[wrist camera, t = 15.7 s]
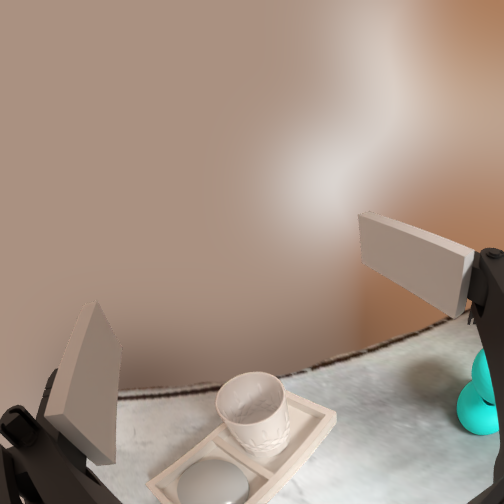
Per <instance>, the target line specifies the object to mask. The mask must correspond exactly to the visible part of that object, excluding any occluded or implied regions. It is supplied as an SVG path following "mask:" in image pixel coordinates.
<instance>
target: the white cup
mask: <svg viewBox="0 0 504 504" xmlns="http://www.w3.org/2000/svg"><path fill="white" fill-rule="evenodd" d="M215 407H216V410H217V412H218V414H219V415H220V417H221V418H222V420H223V421H224V423H225V424H226V426H227V427H228V429H229V430H230V432H231V433H232V435H233V436H234V437H235V439H236V440H237V441H238V442H239V443H240V444H241V445H242V446H243V448H244V449H245V450H246V452H247V453H249V454H251V455H253V456H255V457H267V458H268V457H271V456H274V455H277V454H279V453H280V452H281V451H283V450H284V449H285V448H286V447H287V446H288V443H289V441H290V438H291V434H290V420H289V412H288V406H287V400H286V393H285V388H284V386H283V384H282V382H281V381H280V380H279V379H278V378H276V377H275V376H273V375H271V374H268V373H264V372H249V373H244V374H240V375H238V376H235V377H234V378H232V379H230V380H229V381H227V382H226V383H225V384H224V385H223V386H222V387H221V388H220V390H219V391H218V393H217V395H216V399H215Z"/></svg>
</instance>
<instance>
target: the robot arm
mask: <svg viewBox="0 0 504 504" xmlns="http://www.w3.org/2000/svg"><path fill="white" fill-rule="evenodd" d="M358 219H359V230H360V241H361V258H362V263H363V264H365V265H366V266H368V267H370V268H371V269H373V270H375V271H377V272H378V273H380V274H382V275H383V276H385V277H387V278H388V279H390V280H392V281H393V282H395V283H397V284H398V285H400V286H402V287H403V288H405V289H407V290H408V291H410V292H412V293H413V294H415V295H417V296H418V297H420V298H421V299H423V300H425V301H426V302H428V303H429V304H431V305H433V306H434V307H436V308H437V309H439V310H440V311H442V312H443V313H445V314H447V315H448V316H450V317H451V318H453V319H454V320H455V319H456V318H457V317H458V316H459V315H461V314H462V313H463V312H464V311H465V306H466V302H467V298H468V299H469V300H471V301H472V305H471V309H470V313H469V318H468V325H470V322H471V319H472V318H474V322H473V324H476V325H477V329H478V332H479V335H480V338H481V342H482V345H483V349H484V353H485V356H486V360H487V364H488V368H489V373H490V377H491V382H492V387H493V392H494V397H495V403H496V410H497V417H498V424H499V434H500V450H499V453H498V456H497V458H496V461H495V465H494V479H493V484H492V485H491V486H490V487H489V488H487V489H486V490H485V491H483V492H482V493H481V494H479V495H478V496H477V497H475V498H474V499H472V500H471V501H469V502H468V503H467V504H504V252H503V251H502V250H499V249H496V248H485V249H483V250H481V252H480V253H478V252H476V251H474V250H473V249H470V248H468V247H466V246H463V245H461V244H458V243H456V242H453V241H451V240H448V239H446V238H443V237H440V236H438V235H435V234H433V233H430V232H427V231H425V230H422V229H419V228H417V227H414V226H411V225H408V224H406V223H403V222H400V221H397V220H394V219H391V218H388V217H385V216H382V215H379V214H376V213H373V212H370V211H369V212H365V213H362V214H359V215H358ZM121 356H122V346H121V344H120V342H119V341H118V339H117V337H116V335H115V334H114V332H113V330H112V328H111V326H110V324H109V322H108V320H107V318H106V317H105V315H104V313H103V311H102V309H101V307H100V305H99V303H98V300H96V301H93V302H90V303H87V304H84V305H83V307H82V309H81V312H80V314H79V317H78V318H77V321H76V323H75V326H74V328H73V331H72V333H71V336H70V338H69V341H68V343H67V346H66V348H65V351H64V354H63V357H62V359H61V362H60V365H59V368H58V369H55V370H54V371H53V373H52V374H51V376H50V377H49V379H48V381H47V384H46V387H45V389H46V390H44V393H43V398H42V400H41V403H40V406H39V410H38V413H37V416H36V420H35V419H34V418H33V417H32V416H31V414H30V413H29V412H28V411H27V410H26V409H25V408H24V407H23V406H21V405H16V406H13V407H11V408H9V409H8V410H7V411H6V412H5V413H4V414H3V416H2V418H1V419H0V433H1V434H2V435H3V436H4V437H5V438H6V439H7V440H8V441H9V442H10V443H11V444H12V445H13V447H10V448H8V449H5V448H4V447H3V446H2V445H1V444H0V504H23V503H22V501H21V499H20V496H21V497H22V498H24V501H25V504H122V503H121V502H120V501H119V500H118V499H117V498H116V497H115V496H114V495H113V494H112V493H111V491H110V490H109V489H108V488H107V487H106V486H105V485H104V484H103V483H102V482H101V481H100V480H99V478H98V477H97V476H96V475H95V474H94V473H93V472H92V471H91V470H90V469H89V468H88V467H86V459H87V458H88V459H89V460H90V461H92V462H93V463H94V464H95V465H97V466H100V465H110V464H116V415H117V398H118V384H119V374H120V364H121Z"/></svg>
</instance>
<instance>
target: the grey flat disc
mask: <svg viewBox="0 0 504 504" xmlns="http://www.w3.org/2000/svg"><path fill="white" fill-rule="evenodd" d="M249 492H250V487H249V483H248V480H247V478H246V476H245V475H244V473H243V472H242V471H241V470H240V469H239V468H238V467H237V466H236V465H234V464H232V463H230V462H227V461H224V460H217V459H212V460H205V461H201V462H198V463H196V464H194V465H192V466H191V467H189V468H188V469H187V470H186V471H185V472H184V473H183V474H182V476H181V477H180V479H179V482H178V486H177V494H178V498H179V500H180V502H181V504H244V503H245V502H246V501H247V499H248V497H249Z"/></svg>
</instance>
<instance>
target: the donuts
mask: <svg viewBox="0 0 504 504" xmlns="http://www.w3.org/2000/svg"><path fill="white" fill-rule="evenodd" d="M482 398H483V399H484V400H486V401H487V402H489V403H491V404H494V406H489V405H487V404H485V403H484V402H483V400H482ZM457 414H458V418H459V420H460V422H461V424H462V425H463V426H464V427H465V428H466V429H467V430H468V431H470V432H472V433H474V434H477V435H489V434H493V433H495V432H497V431H499V424H498V417H497V410H496V403H495V397H494V392H493V387H492V382H491V377H490V373H489V368H488V364H487V360H486V356H485V353H484V349H481V351H480V352H479V353H478V354H477V356H476V358H475V360H474V362H473V366H472V381H471V382H469V383H468V384H467V385H466V386H465V387H464V388H463V390H462V391H461V393H460V395H459V398H458V401H457Z"/></svg>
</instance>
